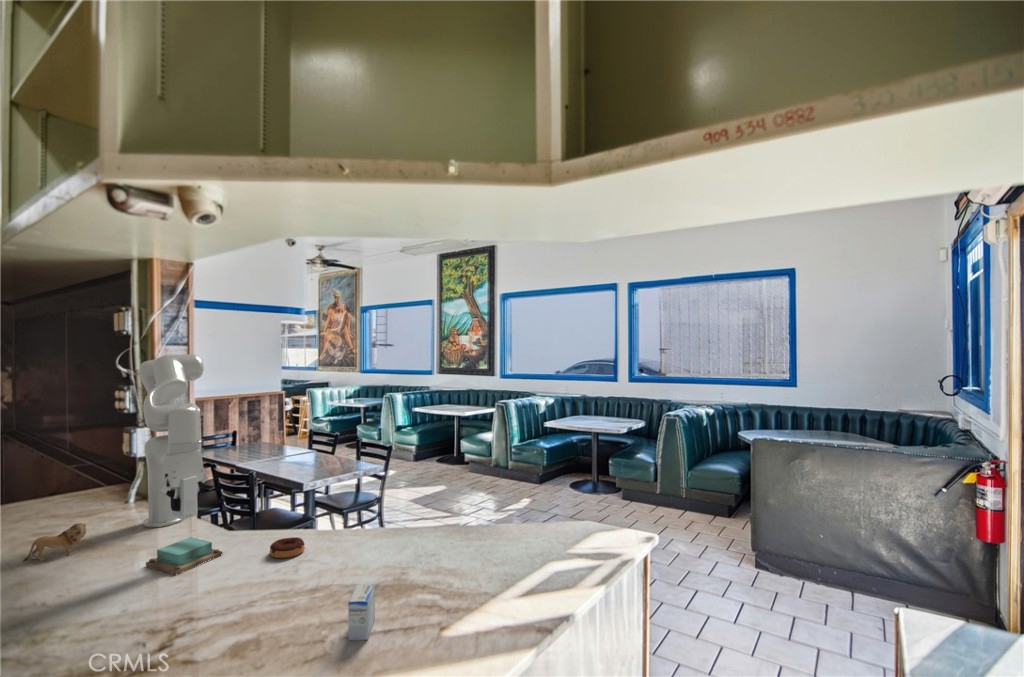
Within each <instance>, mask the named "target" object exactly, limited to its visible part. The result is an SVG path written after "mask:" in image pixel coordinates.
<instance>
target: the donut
mask: <svg viewBox="0 0 1024 677" xmlns="http://www.w3.org/2000/svg"><path fill="white" fill-rule="evenodd" d="M269 546H270V547H269V555H270V556H272V557H273V558H277V559H287V558H294V557H298V556H299V555H300V554H302V552H304V550H305V541H304V540H303V539H302V538H301V537H299V536H298V537H294V536H293V537H287V538H281V539H278V540H275V541H274V542H272V543H271V545H269Z"/></svg>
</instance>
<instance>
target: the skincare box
mask: <svg viewBox="0 0 1024 677" xmlns="http://www.w3.org/2000/svg"><path fill="white" fill-rule="evenodd" d="M178 498H180V511H178V512H177V511H172V517H173V518H178V519H183V520H182V521H184V520H187V519H191V518H193V517H194V518H195V517H196V516H198V492H197V476H194V477H190V478H186V479H183V480H182V484H181V487H180V490H179V495H178Z"/></svg>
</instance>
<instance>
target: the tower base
mask: <svg viewBox="0 0 1024 677" xmlns="http://www.w3.org/2000/svg"><path fill="white" fill-rule="evenodd" d="M221 554H222V555H223V551H222V550H220V549H214V548H213V542H212V541H207V540H204V539H199V538H196V537H191V536H190V537H188V538H183V539H182V540H180V541H177V542H174V543H172V544H169V545H166V546H164V547H161V548H158V549H156V557H157V558H150V559H149V560H148V561H146V562H145V567H146V566H147V567H146V568H149V567H151V568H150V569H153V568H154V570H156V569H157V570H156V571H160V570H161V571H160V572H163V571H164V572H163V573H166V572H167V573H166V574H170V573H172V574H171V575H173V574H175V575H174V576H177V575H176V574H178V573H180V574H182V573H181V572H183V571H185V572H187V571H189V570H188V569H190V570H192V569H194V568H196V567H198V566H197V565H199V564H201V563H203V562H205V561H208V560H210V559H213V558H215V557H217V556H219V555H221ZM217 558H218V557H217ZM215 559H216V558H215ZM213 560H214V559H213ZM210 561H211V560H210ZM208 562H209V561H208ZM203 564H204V563H203ZM201 565H202V564H201ZM195 566H196V567H195ZM199 566H200V565H199ZM193 567H194V568H193ZM191 568H192V569H191ZM186 570H187V571H186ZM183 573H184V572H183ZM178 575H179V574H178Z"/></svg>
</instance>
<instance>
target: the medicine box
mask: <svg viewBox="0 0 1024 677" xmlns="http://www.w3.org/2000/svg"><path fill="white" fill-rule="evenodd" d="M375 599H376V585H375V584H369V583H368V584H356V585H355V588H354V590H353V592H352V595H351V596H350V598H349V602H348V604H347V605H348V608H347V610H348V611H347V612H348V613H347V614H348V615H347V616H348V620H347V622H348V624H347V625H348V626H347V627H348V636H347V637H348V641H365V640H369V638H370V634H371V633H372V632H371V631H372V628H373V625H374V622H375V618H376V600H375Z"/></svg>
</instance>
